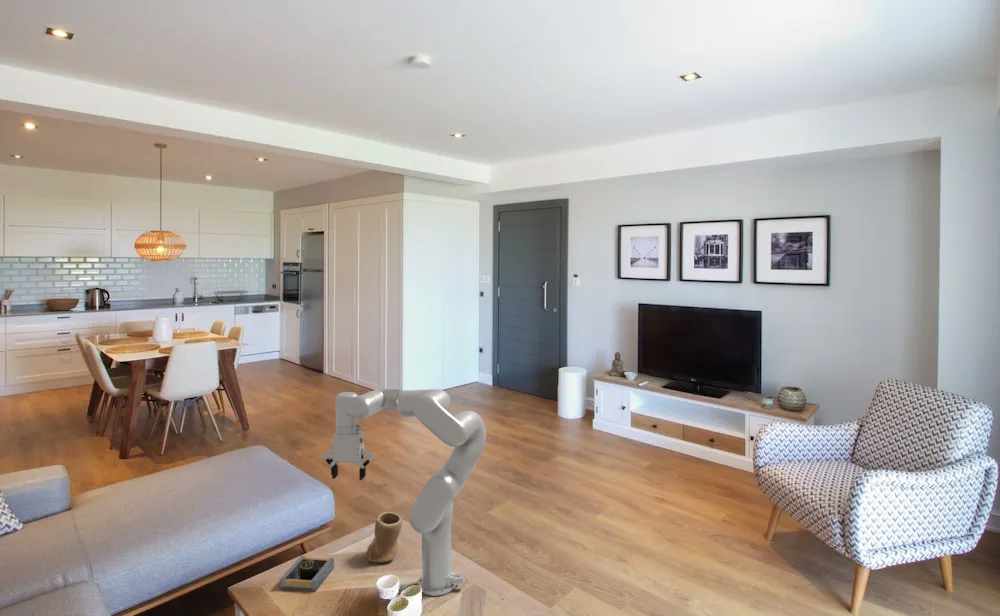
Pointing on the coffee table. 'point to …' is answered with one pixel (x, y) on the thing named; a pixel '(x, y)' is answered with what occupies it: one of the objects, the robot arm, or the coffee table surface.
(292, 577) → the shallow grey tray
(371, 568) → the coffee table surface
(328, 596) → the coffee table surface
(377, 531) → the brown boot
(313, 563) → the tape measure
